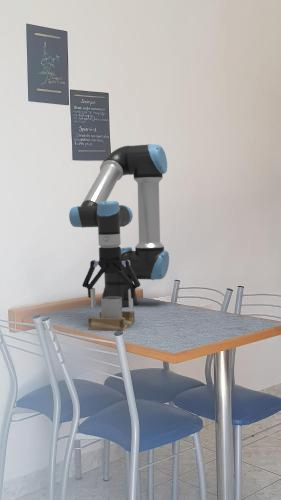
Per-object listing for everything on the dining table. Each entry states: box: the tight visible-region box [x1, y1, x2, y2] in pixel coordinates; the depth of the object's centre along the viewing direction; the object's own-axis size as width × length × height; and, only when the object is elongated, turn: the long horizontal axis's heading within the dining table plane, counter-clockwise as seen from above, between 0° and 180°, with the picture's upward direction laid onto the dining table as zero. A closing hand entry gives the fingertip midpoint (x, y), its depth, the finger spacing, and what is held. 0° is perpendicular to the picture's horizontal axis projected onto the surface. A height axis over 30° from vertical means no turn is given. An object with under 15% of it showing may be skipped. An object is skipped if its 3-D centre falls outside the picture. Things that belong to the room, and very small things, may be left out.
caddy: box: [87, 310, 135, 331], centre depth 224 cm, size 15×12×4 cm
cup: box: [100, 296, 123, 319], centre depth 224 cm, size 7×10×9 cm
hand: (112, 307), depth 224 cm, fingers open, 13 cm apart
